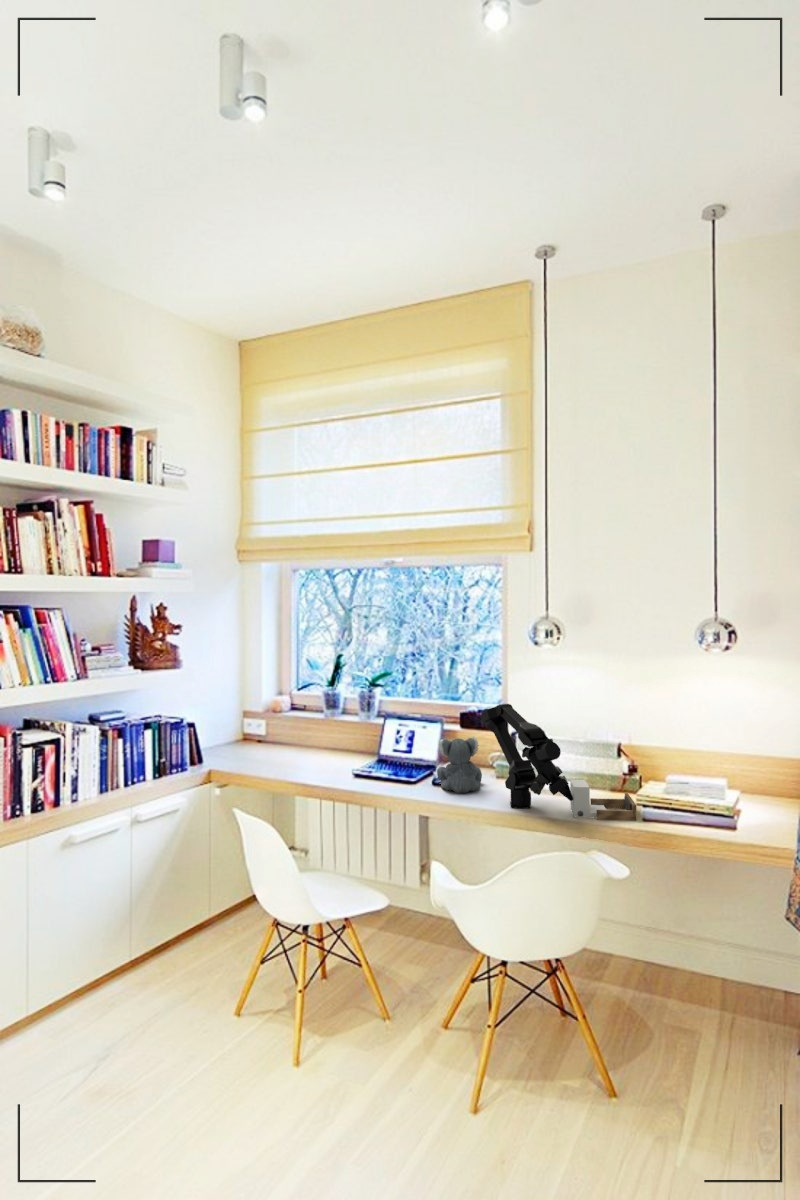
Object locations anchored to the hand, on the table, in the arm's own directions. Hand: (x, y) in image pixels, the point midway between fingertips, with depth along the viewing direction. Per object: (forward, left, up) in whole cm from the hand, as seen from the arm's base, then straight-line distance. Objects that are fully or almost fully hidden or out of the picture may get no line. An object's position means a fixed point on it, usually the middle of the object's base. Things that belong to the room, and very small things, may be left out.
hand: (571, 799), depth 252 cm
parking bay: (+13, +2, -5) cm, 14 cm away
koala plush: (-38, +31, -5) cm, 49 cm away
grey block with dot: (+6, +2, -5) cm, 8 cm away
